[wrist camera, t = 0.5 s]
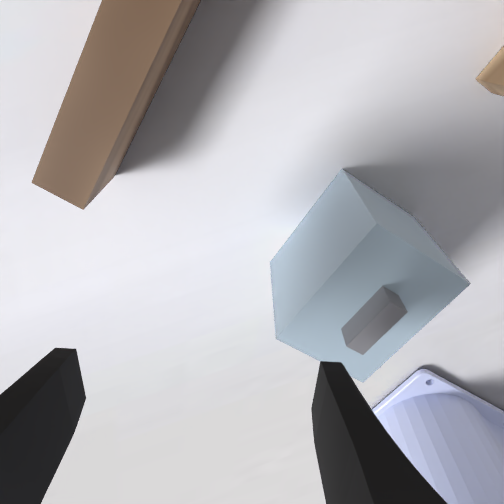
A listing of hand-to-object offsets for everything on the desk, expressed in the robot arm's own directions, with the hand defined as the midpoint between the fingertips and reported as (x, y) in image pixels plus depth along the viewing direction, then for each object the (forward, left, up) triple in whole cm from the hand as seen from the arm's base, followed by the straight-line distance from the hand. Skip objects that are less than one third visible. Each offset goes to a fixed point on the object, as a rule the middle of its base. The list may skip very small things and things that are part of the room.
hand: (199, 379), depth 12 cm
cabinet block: (-5, -3, -10) cm, 11 cm away
